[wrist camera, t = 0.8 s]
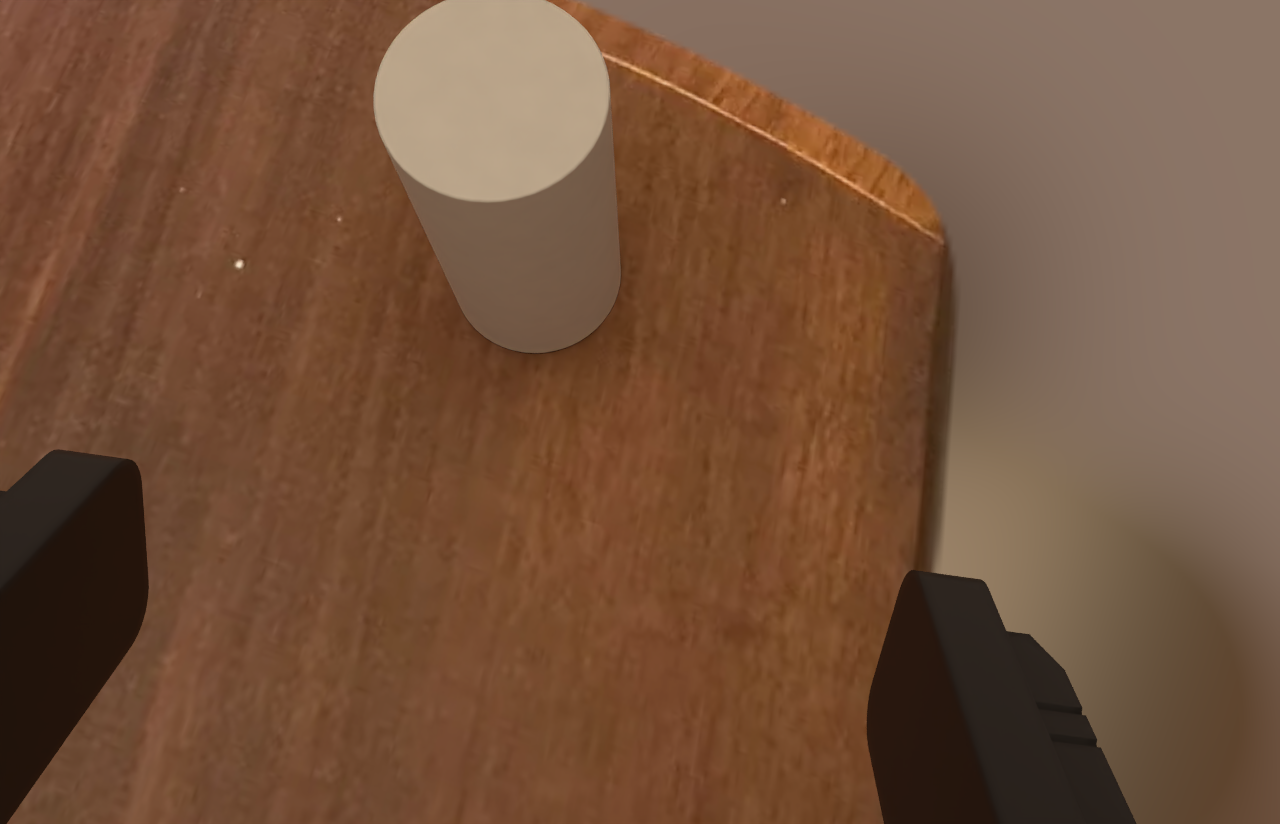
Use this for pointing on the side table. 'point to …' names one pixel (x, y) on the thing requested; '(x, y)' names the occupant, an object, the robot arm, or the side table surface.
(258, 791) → the side table surface
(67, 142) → the side table surface
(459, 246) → the cylinder
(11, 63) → the side table surface
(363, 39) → the side table surface
